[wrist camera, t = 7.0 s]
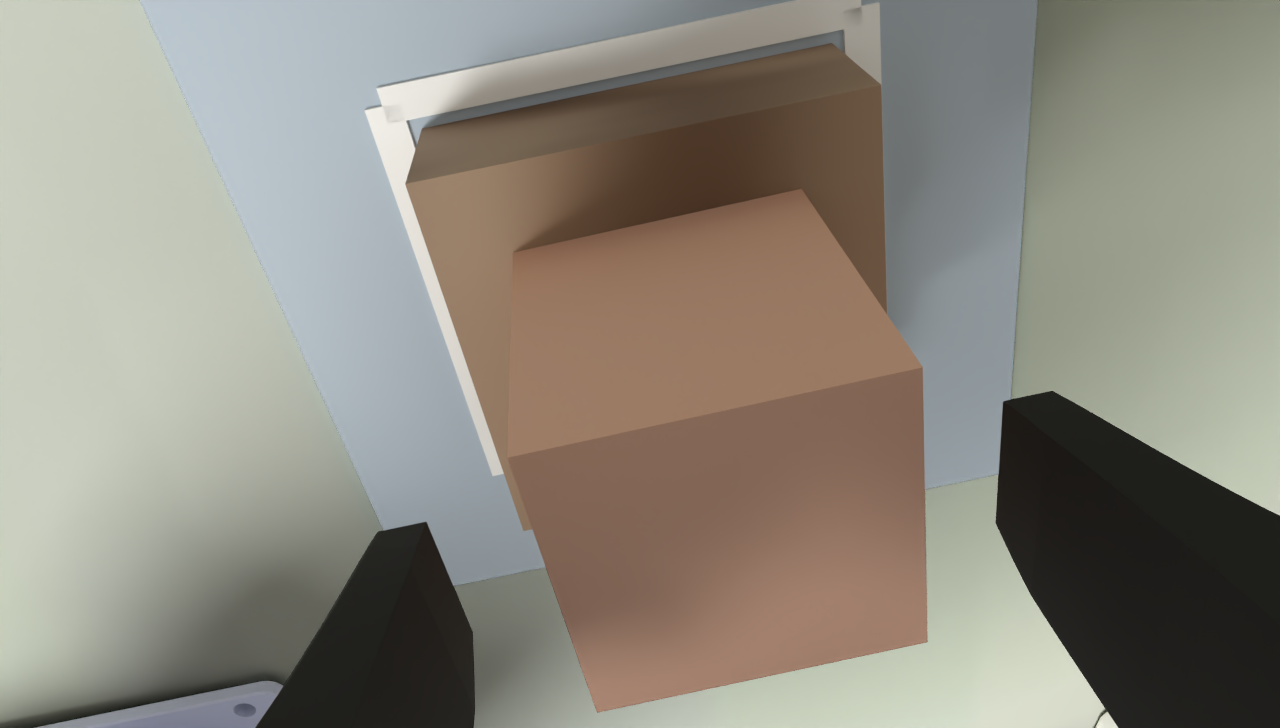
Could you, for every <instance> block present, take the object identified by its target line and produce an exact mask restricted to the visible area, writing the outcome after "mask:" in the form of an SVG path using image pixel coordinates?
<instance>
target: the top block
mask: <svg viewBox="0 0 1280 728" xmlns="http://www.w3.org/2000/svg"><path fill="white" fill-rule="evenodd" d="M507 459H508V462H509V465H510V467H511V470H512V473H513V476H514V479H515V482H516V484H517V487H518V490H519V493H520V496H521V499H522V501H523V504H524V507H525V510H526V513H527V516H528V518H529V521H530V524H531V527H532V530H533V533H534V535H535V538H536V541H537V544H538V547H539V550H540V552H541V555H542V558H543V561H544V564H545V566H546V569H547V572H548V575H549V578H550V581H551V583H552V586H553V589H554V592H555V595H556V598H557V600H558V603H559V606H560V609H561V612H562V615H563V617H564V620H565V623H566V626H567V629H568V632H569V634H570V637H571V640H572V643H573V646H574V649H575V651H576V654H577V657H578V660H579V663H580V666H581V668H582V671H583V674H584V677H585V680H586V683H587V685H588V688H589V691H590V694H591V697H592V700H593V702H594V705H595V708H596V711H597V713H598V712H602V711H607V710H612V709H616V708H621V707H626V706H630V705H635V704H640V703H644V702H649V701H654V700H659V699H663V698H668V697H673V696H677V695H682V694H687V693H691V692H696V691H701V690H705V689H710V688H715V687H719V686H724V685H729V684H734V683H738V682H743V681H748V680H752V679H757V678H762V677H766V676H771V675H776V674H780V673H785V672H790V671H795V670H799V669H804V668H809V667H813V666H818V665H823V664H827V663H832V662H837V661H841V660H846V659H851V658H855V657H860V656H865V655H870V654H874V653H879V652H884V651H888V650H893V649H898V648H902V647H907V646H912V645H916V644H921V643H926V642H927V588H926V527H925V466H924V405H923V367H922V365H921V364H920V362H919V361H918V359H917V358H916V356H915V355H914V353H913V352H912V351H911V349H910V348H909V346H908V345H907V343H906V342H905V340H904V339H903V337H902V336H901V334H900V333H899V331H898V330H897V328H896V327H895V326H894V324H893V323H892V321H891V320H890V318H889V317H888V315H887V314H886V312H885V311H884V309H883V308H882V306H881V305H880V303H879V302H878V301H877V299H876V298H875V296H874V295H873V293H872V292H871V290H870V289H869V287H868V286H867V284H866V283H865V281H864V280H863V278H862V277H861V276H860V274H859V273H858V271H857V270H856V268H855V267H854V265H853V264H852V262H851V261H850V259H849V258H848V256H847V255H846V253H845V252H844V250H843V249H842V248H841V246H840V245H839V243H838V242H837V240H836V239H835V237H834V236H833V234H832V233H831V231H830V230H829V228H828V227H827V225H826V224H825V223H824V221H823V220H822V218H821V217H820V215H819V214H818V212H817V211H816V209H815V208H814V206H813V205H812V203H811V202H810V200H809V199H808V198H807V196H806V195H805V193H804V192H803V190H802V189H798V190H794V191H789V192H785V193H780V194H776V195H771V196H767V197H762V198H758V199H753V200H749V201H744V202H740V203H735V204H731V205H726V206H721V207H717V208H712V209H708V210H703V211H699V212H694V213H690V214H685V215H681V216H676V217H672V218H667V219H663V220H658V221H654V222H649V223H645V224H640V225H636V226H631V227H626V228H622V229H617V230H613V231H608V232H604V233H599V234H595V235H590V236H586V237H581V238H577V239H572V240H568V241H563V242H559V243H554V244H550V245H545V246H541V247H536V248H532V249H527V250H522V251H518V252H513V267H512V302H511V337H510V373H509V408H508V444H507Z"/></svg>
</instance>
